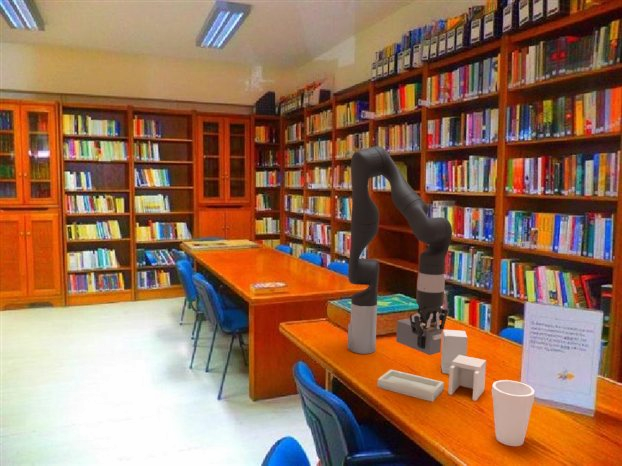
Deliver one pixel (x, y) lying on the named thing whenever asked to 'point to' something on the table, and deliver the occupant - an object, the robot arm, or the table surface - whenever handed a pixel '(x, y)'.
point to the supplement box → (452, 347)
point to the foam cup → (511, 410)
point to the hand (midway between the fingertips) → (427, 346)
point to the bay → (467, 375)
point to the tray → (411, 385)
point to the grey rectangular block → (410, 338)
